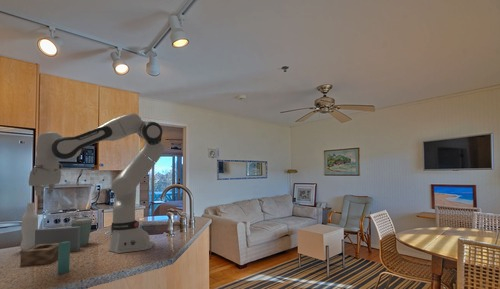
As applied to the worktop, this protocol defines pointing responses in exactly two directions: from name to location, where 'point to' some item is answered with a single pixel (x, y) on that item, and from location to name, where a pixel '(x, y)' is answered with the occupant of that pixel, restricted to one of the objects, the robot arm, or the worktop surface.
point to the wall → (59, 236)
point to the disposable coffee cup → (83, 228)
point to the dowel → (63, 257)
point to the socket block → (40, 254)
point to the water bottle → (29, 227)
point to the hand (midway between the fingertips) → (44, 194)
